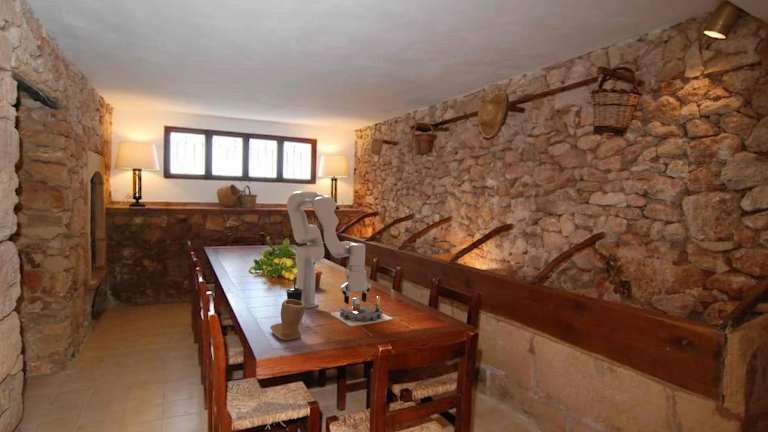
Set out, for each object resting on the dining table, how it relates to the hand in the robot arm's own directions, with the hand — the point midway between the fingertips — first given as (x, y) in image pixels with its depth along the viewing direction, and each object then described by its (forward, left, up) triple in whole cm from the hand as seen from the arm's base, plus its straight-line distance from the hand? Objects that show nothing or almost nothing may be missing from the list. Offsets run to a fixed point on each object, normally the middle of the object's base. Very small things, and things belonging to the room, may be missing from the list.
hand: (355, 302), depth 210 cm
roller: (0, 0, -3) cm, 3 cm away
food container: (+1, +61, -6) cm, 61 cm away
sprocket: (0, -6, -6) cm, 8 cm away
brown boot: (-40, -15, -6) cm, 43 cm away
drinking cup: (-30, +5, -6) cm, 31 cm away
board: (0, -6, -6) cm, 8 cm away
